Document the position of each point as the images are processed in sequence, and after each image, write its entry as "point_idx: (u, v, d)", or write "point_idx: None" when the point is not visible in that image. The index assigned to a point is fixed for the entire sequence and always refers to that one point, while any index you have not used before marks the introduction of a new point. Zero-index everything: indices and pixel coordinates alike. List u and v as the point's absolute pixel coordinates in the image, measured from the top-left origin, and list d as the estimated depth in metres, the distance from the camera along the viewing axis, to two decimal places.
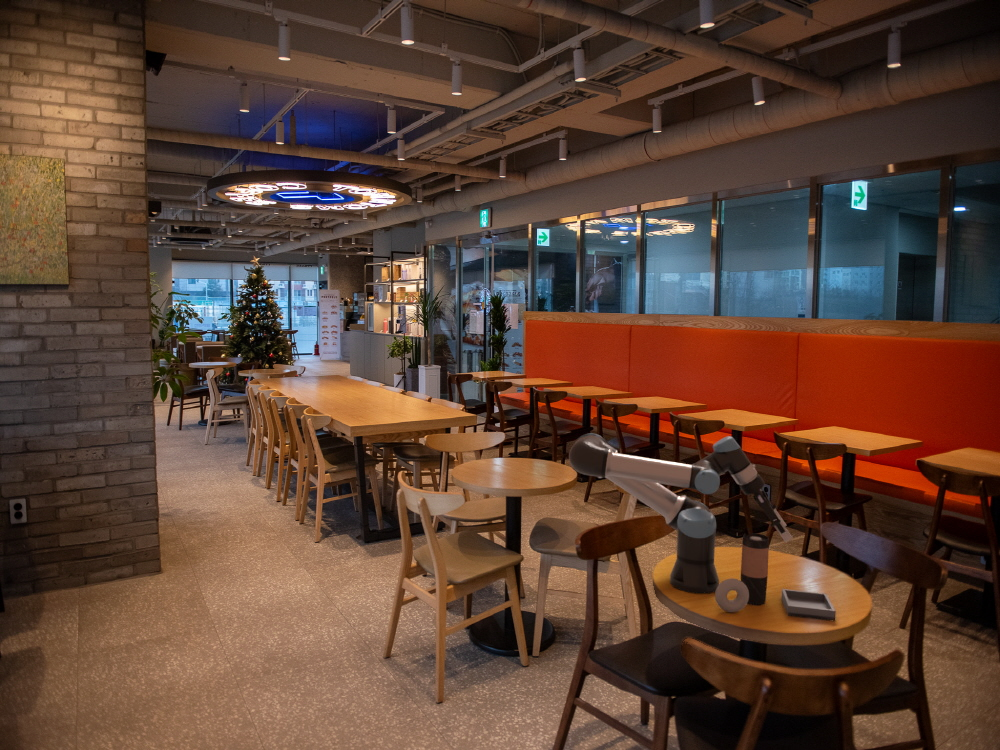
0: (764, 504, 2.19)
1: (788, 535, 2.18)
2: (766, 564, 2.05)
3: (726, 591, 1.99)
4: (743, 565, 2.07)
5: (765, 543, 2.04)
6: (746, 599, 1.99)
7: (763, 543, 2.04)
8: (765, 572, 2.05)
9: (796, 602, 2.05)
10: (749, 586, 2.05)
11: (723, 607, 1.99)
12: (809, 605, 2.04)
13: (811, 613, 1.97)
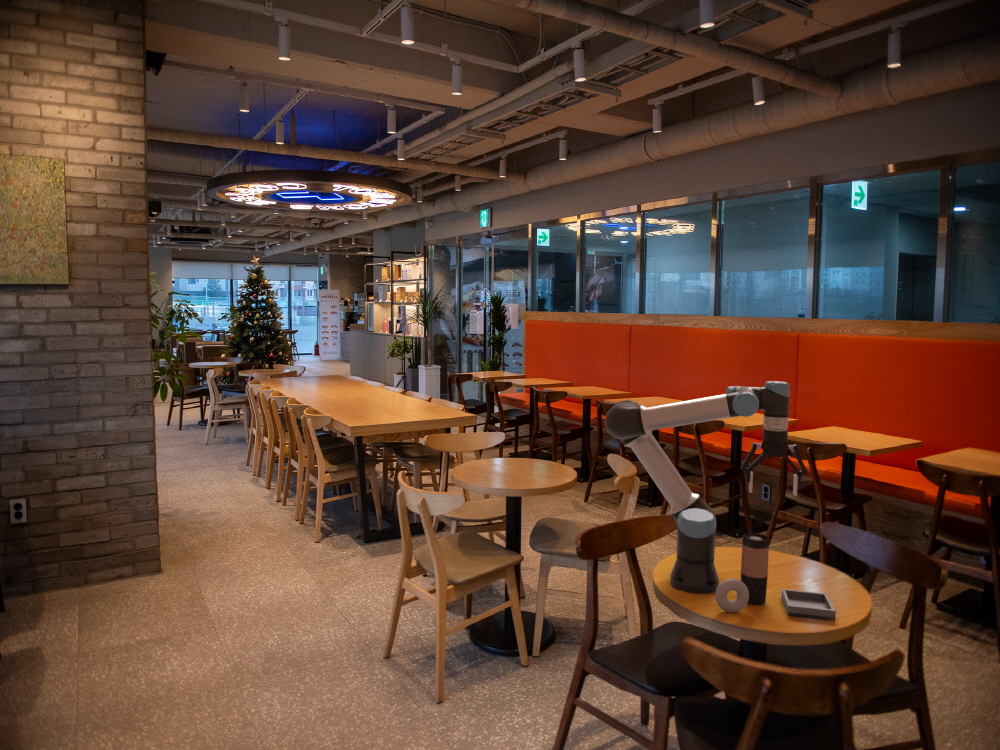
0: (750, 450, 2.24)
1: (749, 487, 2.25)
2: (766, 564, 2.05)
3: (726, 591, 1.99)
4: (743, 565, 2.07)
5: (765, 543, 2.04)
6: (746, 599, 1.99)
7: (763, 543, 2.04)
8: (765, 572, 2.05)
9: (796, 602, 2.05)
10: (749, 586, 2.05)
11: (723, 607, 1.99)
12: (809, 605, 2.04)
13: (811, 613, 1.97)
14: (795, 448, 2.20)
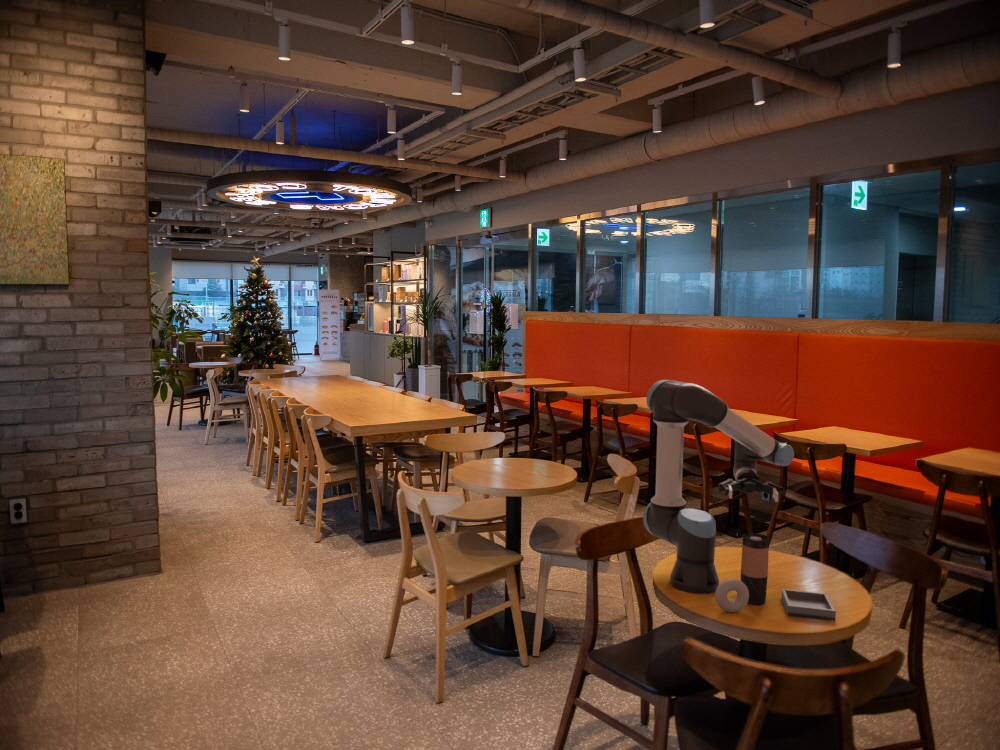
0: None
1: None
2: (766, 564, 2.05)
3: (726, 591, 1.99)
4: (743, 565, 2.07)
5: (765, 543, 2.04)
6: (746, 599, 1.99)
7: (763, 543, 2.04)
8: (765, 572, 2.05)
9: (796, 602, 2.05)
10: (749, 586, 2.05)
11: (723, 607, 1.99)
12: (809, 605, 2.04)
13: (811, 613, 1.97)
14: None
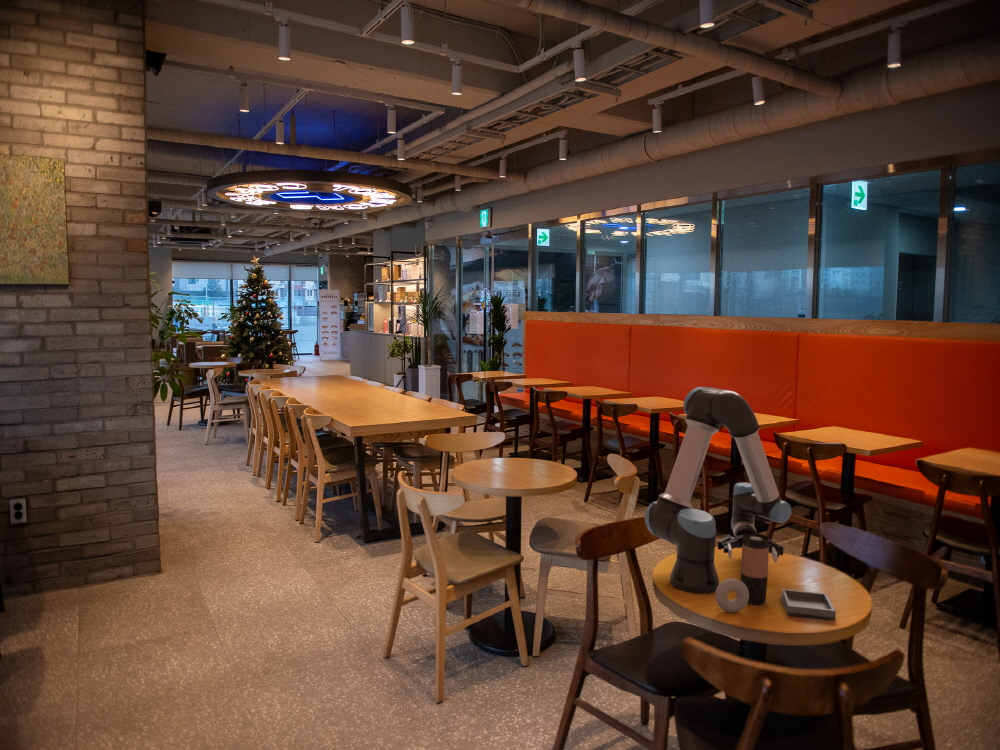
0: None
1: None
2: (766, 564, 2.05)
3: (726, 591, 1.99)
4: (743, 565, 2.07)
5: (765, 543, 2.04)
6: (746, 599, 1.99)
7: (763, 543, 2.04)
8: (765, 572, 2.05)
9: (796, 602, 2.05)
10: (749, 586, 2.05)
11: (723, 607, 1.99)
12: (809, 605, 2.04)
13: (811, 613, 1.97)
14: None
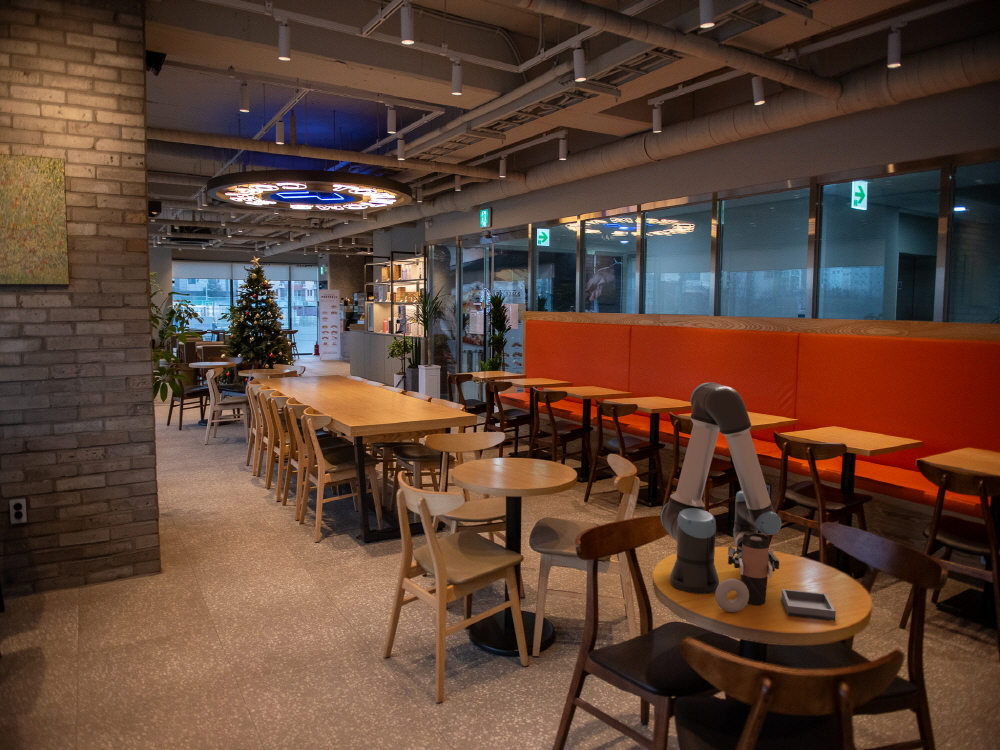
0: None
1: None
2: (766, 564, 2.05)
3: (726, 591, 1.99)
4: (743, 565, 2.07)
5: (765, 543, 2.04)
6: (746, 599, 1.99)
7: (763, 543, 2.04)
8: (765, 572, 2.05)
9: (796, 602, 2.05)
10: (749, 586, 2.05)
11: (723, 607, 1.99)
12: (809, 605, 2.04)
13: (811, 613, 1.97)
14: None
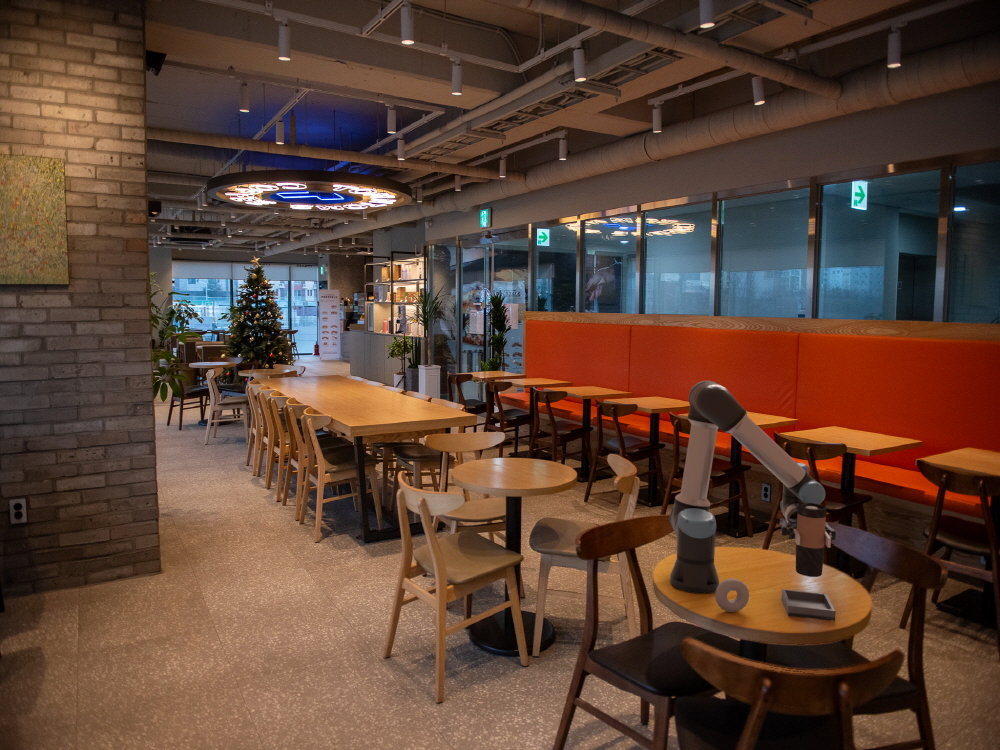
0: None
1: None
2: (823, 534, 1.98)
3: (726, 591, 1.99)
4: None
5: (823, 512, 1.97)
6: (746, 599, 1.99)
7: (820, 512, 1.97)
8: (822, 542, 1.99)
9: (796, 602, 2.05)
10: (806, 556, 1.99)
11: (723, 607, 1.99)
12: (809, 605, 2.04)
13: (811, 613, 1.97)
14: None
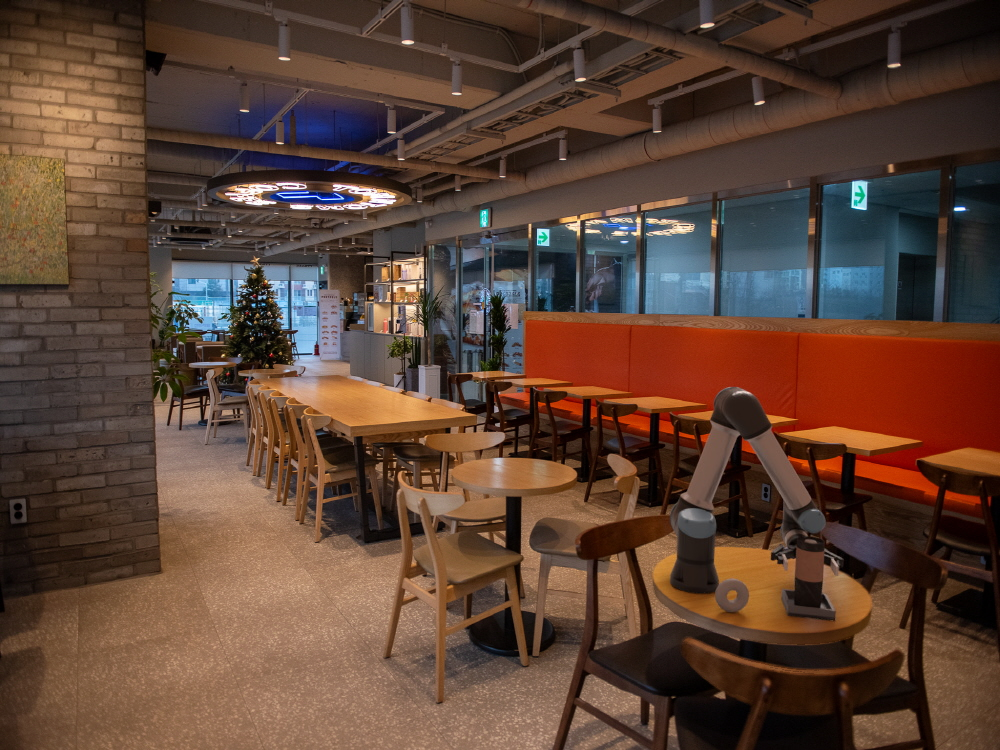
0: None
1: None
2: (822, 568, 1.99)
3: (726, 591, 1.99)
4: (798, 569, 2.02)
5: (821, 546, 1.99)
6: (746, 599, 1.99)
7: (819, 546, 1.98)
8: (821, 576, 1.99)
9: None
10: (805, 590, 2.00)
11: (723, 607, 1.99)
12: None
13: (811, 613, 1.97)
14: None
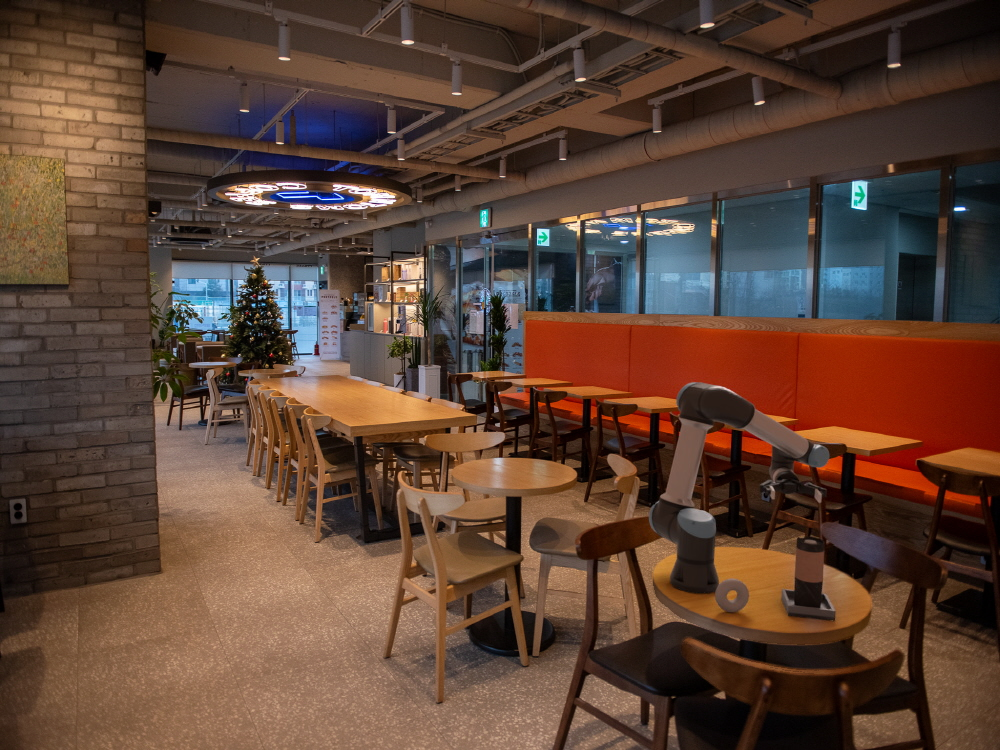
0: None
1: None
2: (822, 568, 1.99)
3: (726, 591, 1.99)
4: (798, 569, 2.01)
5: (821, 547, 1.98)
6: (746, 599, 1.99)
7: (819, 547, 1.98)
8: (821, 576, 1.99)
9: None
10: (805, 590, 2.00)
11: (723, 607, 1.99)
12: None
13: (811, 613, 1.97)
14: None
